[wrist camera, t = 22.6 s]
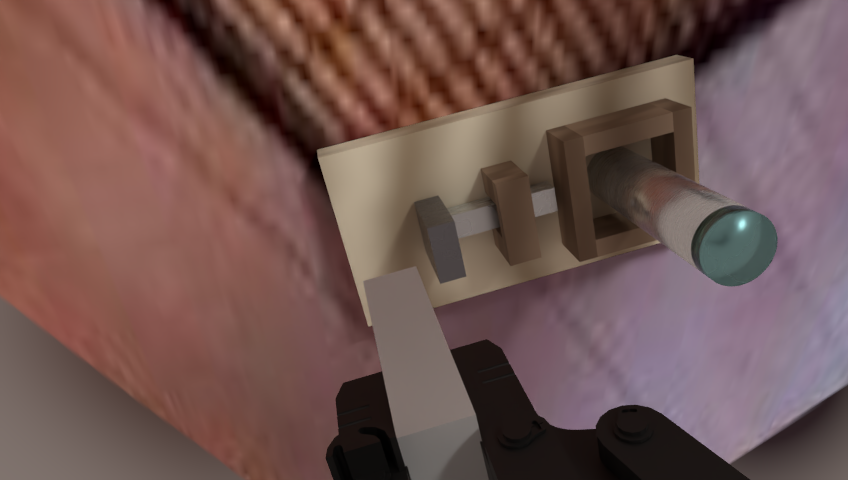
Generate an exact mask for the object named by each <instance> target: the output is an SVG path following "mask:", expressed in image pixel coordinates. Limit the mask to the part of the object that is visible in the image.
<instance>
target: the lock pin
mask: <svg viewBox="0 0 848 480" xmlns="http://www.w3.org/2000/svg"><path fill="white" fill-rule="evenodd" d="M530 189H531V195H532V201H533V208H534V214H535V217H538V216H541V215H545V214H548V213H552V212H556V211H558V209H557V202H556V195H555V188H554V187H553V186H552V185H551V184H550V183H548V182H547V181H544V182H541V183H537V184H533V185H530ZM414 205H415V209H416V214H417V218H418V222H419V226H420V230H421V234H422V238H423V242H424V246H425V251H426V254H427V256H428V258H429V260H430V263H431V265H432V267H433V269H434V271H435V274H436V276H437V278H438V280H439V282H440V284H442V283H445V282H449V281H452V280H456V279H459V278H463V277H466V272H465V267H464V262H463V258H462V253H461V249H460V244H459V238H463V237H466V236H470V235H473V234H477V233H481V232H484V231H488V230H491V229H495V228H498V227H500V222H499V217H498V211H497V206H496V204H495V203H494V202H493V201H492V200H491V198H490V197H486V198H483V199H479V200H475V201H472V202H468V203H465V204H461V205H457V206H454V207H450V208H446V207H445V205H444V204H443V202H442V200H441V199H440V197H439V196H434V197H430V198H427V199H423V200H419V201H416V202H414Z"/></svg>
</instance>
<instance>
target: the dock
mask: <svg viewBox="0 0 848 480" xmlns="http://www.w3.org/2000/svg"><path fill="white" fill-rule="evenodd" d="M620 146H622V147H625V148H627V149H629V150H631V151H633V152H635V153H637V154H639V155H641V156H643V157H645V158H647V159H649V160H651V161H654V162H656V163H658V164H660V165H662V166H664V167H666V168H668V169H670V170H672V171H674V172H676V173H678V174H680V175H682V176H684V177H686V178H688V179H690V180H692V181H694V182H696V183H698V184H699V167H698V146H697V125H696V104H695V83H694V62H693V58H688V57H684V56H679V55H674V56H670V57H667V58H663V59H659V60H655V61H651V62H648V63H644V64H640V65H636V66H633V67H629V68H625V69H621V70H617V71H614V72H610V73H606V74H602V75H598V76H595V77H591V78H587V79H583V80H580V81H576V82H572V83H568V84H564V85H561V86H557V87H553V88H549V89H546V90H542V91H538V92H534V93H530V94H527V95H523V96H519V97H515V98H512V99H508V100H504V101H500V102H496V103H493V104H489V105H485V106H481V107H477V108H474V109H470V110H466V111H462V112H459V113H455V114H451V115H447V116H443V117H440V118H436V119H432V120H428V121H425V122H421V123H417V124H413V125H409V126H406V127H402V128H398V129H394V130H391V131H387V132H383V133H379V134H375V135H372V136H368V137H364V138H360V139H356V140H353V141H349V142H345V143H341V144H338V145H334V146H330V147H326V148H322V149H319V150H317V154H318V160H319V163H320V167H321V170H322V173H323V177H324V180H325V183H326V187H327V190H328V193H329V197H330V200H331V203H332V207H333V210H334V213H335V217H336V220H337V224H338V227H339V230H340V234H341V237H342V240H343V244H344V247H345V250H346V254H347V257H348V260H349V264H350V267H351V270H352V274H353V277H354V280H355V284H356V287H357V290H358V294H359V297H360V300H361V304H362V307H363V310H364V314H365V317H366V320H367V324H368V327H369V326H372V321H371V316H370V312H369V307H368V302H367V298H366V293H365V288H364V283H363V281H365V280H368V279H372V278H375V277H379V276H383V275H386V274H390V273H393V272H397V271H400V270H404V269H407V268H411V267H414V266H416V267H417V270H418V272H419V275H420V277H421V280H422V282H423V285H424V287H425V290H426V292H427V295H428V297H429V300H430V302H431V305H432V307H433V308H435V307H439V306H442V305H446V304H449V303H453V302H456V301H460V300H463V299H467V298H470V297H474V296H477V295H481V294H484V293H488V292H491V291H495V290H498V289H502V288H505V287H509V286H512V285H515V284H519V283H522V282H526V281H529V280H533V279H536V278H540V277H543V276H547V275H550V274H554V273H557V272H561V271H564V270H568V269H571V268H575V267H578V266H582V265H585V264H589V263H592V262H595V261H599V260H602V259H606V258H609V257H613V256H616V255H620V254H623V253H627V252H630V251H634V250H637V249H641V248H644V247H648V246H651V245H655V244H658V243H660V242H659V241H658V240H656V239H655V238H653V237H652V236H651V235H649V234H648V233H647V232H645V231H644V230H642V229H641V228H640V227H638V226H637V225H635V224H634V223H633V222H631V221H630V220H628V219H627V218H626V217H624V216H623V215H622V214H620V213H619V212H617V211H616V210H615V209H613V208H612V207H610V206H609V205H608V204H606V203H605V202H604V201H602V200H601V199H599V198H598V197H597V196H595V195H594V194H593V193H592V192H591V191H590V189H589V181H588V173H587V167H588V165H589V163H590V161H591V160H592V158H593V157H594V156H595V155H596V154H597V153H598V152H602V151H605V150H609V149H612V148H616V147H620ZM544 181H547V182H548V183H550V184H551V185H552V186H553V187H554V188H555V195H556V202H557V209H558V211H556V212H552V213H548V214H545V215H541V216H538V217H535V214H534V208H533V201H532V195H531V189H530V185H533V184H537V183H541V182H544ZM434 196H439V197H440V199H441V200H442V202H443V204H444V205H445V207H446V208H450V207H454V206H457V205H461V204H465V203H468V202H472V201H475V200H479V199H483V198H486V197H490V198H491V200H492V201H493V202H494V203H495V204H496V206H497V211H498V217H499V222H500V227H498V228H495V229H491V230H488V231H484V232H481V233H477V234H473V235H470V236H466V237H463V238H459V244H460V249H461V253H462V258H463V262H464V267H465V272H466V277H463V278H459V279H456V280H452V281H449V282H445V283H442V284H440V282H439V280H438V278H437V276H436V274H435V271H434V269H433V267H432V265H431V263H430V260H429V258H428V256H427V254H426V251H425V246H424V242H423V238H422V234H421V230H420V226H419V222H418V218H417V214H416V209H415V205H414V202H416V201H419V200H423V199H427V198H430V197H434Z"/></svg>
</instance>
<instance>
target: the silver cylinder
mask: <svg viewBox="0 0 848 480" xmlns="http://www.w3.org/2000/svg"><path fill="white" fill-rule="evenodd" d="M587 173H588V181H589V189H590V191H591V192H592V193H593V194H594V195H595V196H597V197H598V198H599V199H601V200H602V201H604V202H605V203H606V204H608V205H609V206H610V207H612V208H613V209H615V210H616V211H617V212H619V213H620V214H622V215H623V216H624V217H626V218H627V219H628V220H630V221H631V222H633V223H634V224H635V225H637V226H638V227H640V228H641V229H642V230H644V231H645V232H647V233H648V234H649V235H651V236H652V237H653V238H655V239H656V240H658V241H659V242H660V243H662V244H663V245H665V246H666V247H667V248H669V249H670V250H671V251H673V252H674V253H676V254H677V255H678V256H680V257H681V258H683V259H684V260H685V261H687V262H688V263H690V264H691V265H692V266H694V267H695V268H696V269H698V270H699V271H701V272H702V273H703V274H705V275H706V276H708V277H709V278H710V279H712V280H713V281H715V282H716V283H718V284H721V285H724V286H739V285H743V284H746V283H748V282H750V281H752V280H754V279H755V278H757V277H758V276H759V275H761V274H762V273H763V272H764V271H765V270H766V268H767V267H768V266H769V264H770V263H771V261H772V259H773V257H774V255H775V252H776V248H777V233H776V230H775V227H774V225H773V224H772V222H771V221H770V220H769V219H768V218H767V217H765V216H764V215H761V214H759V213H757V212H755V211H753V210H751V209H749V208H747V207H745V206H743V205H741V204H739V203H737V202H735V201H733V200H731V199H729V198H727V197H725V196H723V195H721V194H719V193H717V192H715V191H713V190H711V189H709V188H706V187H704V186H702V185H700V184H698V183H696V182H694V181H692V180H690V179H688V178H686V177H684V176H682V175H680V174H678V173H676V172H674V171H672V170H670V169H668V168H666V167H664V166H662V165H660V164H658V163H656V162H654V161H651V160H649V159H647V158H645V157H643V156H641V155H639V154H637V153H635V152H633V151H631V150H629V149H627V148H625V147H622V146H620V147H616V148H612V149H609V150H605V151H602V152H598V153H597V154H596V155H595V156H594V157H593V158H592V160H591V161H590V163H589V165H588V167H587Z"/></svg>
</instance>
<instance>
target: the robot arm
mask: <svg viewBox="0 0 848 480" xmlns="http://www.w3.org/2000/svg"><path fill="white" fill-rule="evenodd" d="M363 283H364V288H365V293H366V298H367V302H368V307H369V312H370V316H371V321H372V326H373V331H374V335H375V340H376V345H377V349H378V354H379V359H380V363H381V368H382V372H379V373H376V374H372V375H369V376H365V377H362V378H359V379H355V380H352V381H348V382H345V383H343V384H342V386H341V389H340V391H339V393H338V395H337V397H336V408H337V416H338V417H337V419H338V427H339V429H338V430H339V435H338V436H336V437H335V438H334V440H333V441H332V442H331V444H330V445H329V447H328V449H327V453H326V460H327V463H328V466H329V469H330V471H331V474H332V477H333V479H334V480H750V479H748V478H747V477H746V476H744V475H743V474H742V473H740V472H739V471H738V470H736V469H735V468H734V467H732V466H731V465H730V464H728V463H727V462H726V461H724V460H723V459H722V458H720V457H719V456H718V455H716V454H715V453H714V452H712V451H711V450H710V449H708V448H707V447H706V446H704V445H703V444H702V443H700V442H699V441H698V440H696V439H695V438H694V437H692V436H691V435H689V434H688V433H687V432H685V431H684V430H683V429H681V428H680V427H679V426H677V425H676V424H675V423H673V422H672V421H671V420H669V419H668V418H667V417H665V416H664V415H663V414H661V413H659V412H657V411H655V410H653V409H652V408H649V407H644V406H639V405H625V406H620V407H617V408H614V409H611V410H609V411H607V412H606V413H605V414H604V415H602V416H601V417H600V419H599V421H598V423H597V425H596V429H586V430H566V429H561V428H557V427H554V426H552V425H550V424H549V423H548V422H547V421H546V420H545V419H544V418H542V417H540V416H538V415H537V413H536V412H535V410H534V408H533V406H532V404H531V402H530V401H529V399H528V397H527V395H526V393H525V391H524V389H523V388H522V386H521V384H520V382H519V380H518V378H517V377H516V375H515V374H514V371H513V369H512V367H511V365H510V364H509V362H508V360H507V358H506V356H505V354H504V352H503V351H502V349H501V348H500V347H498V346H497V345H495V344H493V343H492V342H490V341H489V340H487V339H486V340H483V341H479V342H476V343H473V344H469V345H466V346H462V347H459V348H456V349H452V350H450V349H449V347H448V344H447V342H446V339H445V337H444V334H443V332H442V329H441V327H440V324H439V322H438V319H437V317H436V314H435V312H434V310H433V307H432V305H431V302H430V300H429V297H428V295H427V292H426V290H425V287H424V285H423V282H422V280H421V277H420V275H419V272H418V270H417V267H416V266H414V267H411V268H407V269H404V270H400V271H397V272H393V273H390V274H386V275H383V276H379V277H375V278H372V279H368V280H365V281H363Z"/></svg>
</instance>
